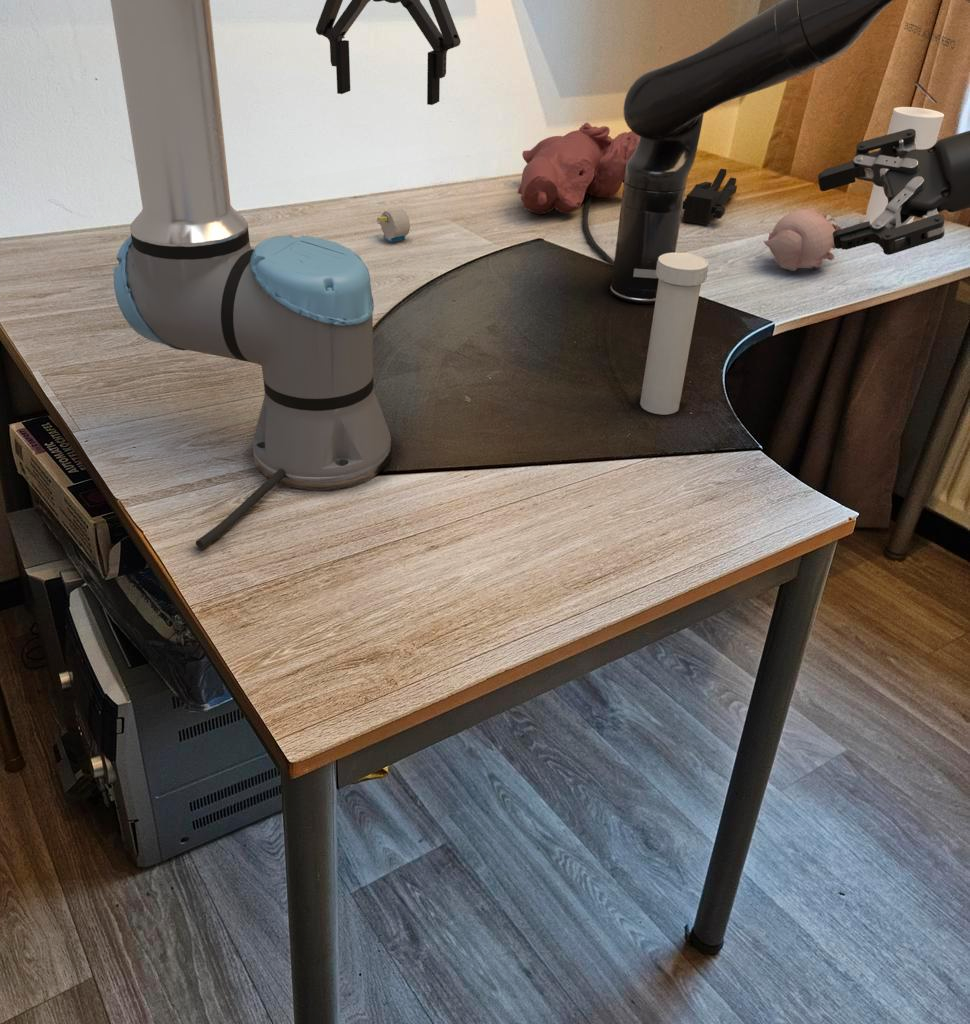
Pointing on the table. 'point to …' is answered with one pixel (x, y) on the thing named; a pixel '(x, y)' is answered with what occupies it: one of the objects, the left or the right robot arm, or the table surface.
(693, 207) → the toy
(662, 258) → the lid
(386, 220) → the electric motor
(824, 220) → the toy
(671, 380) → the jar
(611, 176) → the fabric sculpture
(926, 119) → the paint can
